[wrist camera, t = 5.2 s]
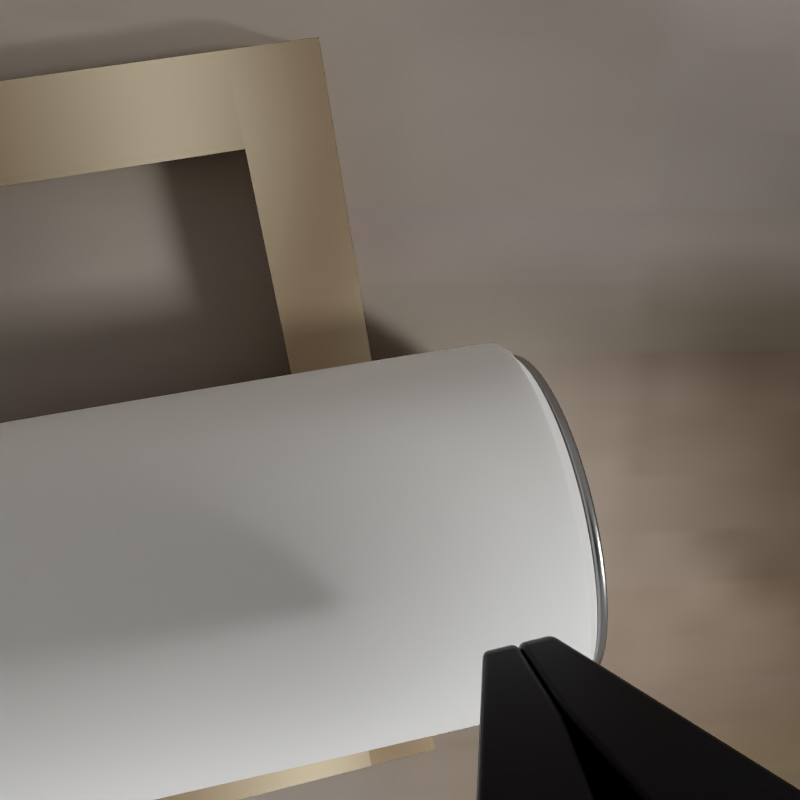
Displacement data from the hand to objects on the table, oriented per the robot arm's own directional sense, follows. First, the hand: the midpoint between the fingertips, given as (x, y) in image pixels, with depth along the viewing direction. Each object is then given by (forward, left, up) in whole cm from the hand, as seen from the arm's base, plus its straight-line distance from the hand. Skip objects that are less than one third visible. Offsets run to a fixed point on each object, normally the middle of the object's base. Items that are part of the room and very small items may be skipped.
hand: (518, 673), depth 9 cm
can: (-2, +1, -5) cm, 5 cm away
